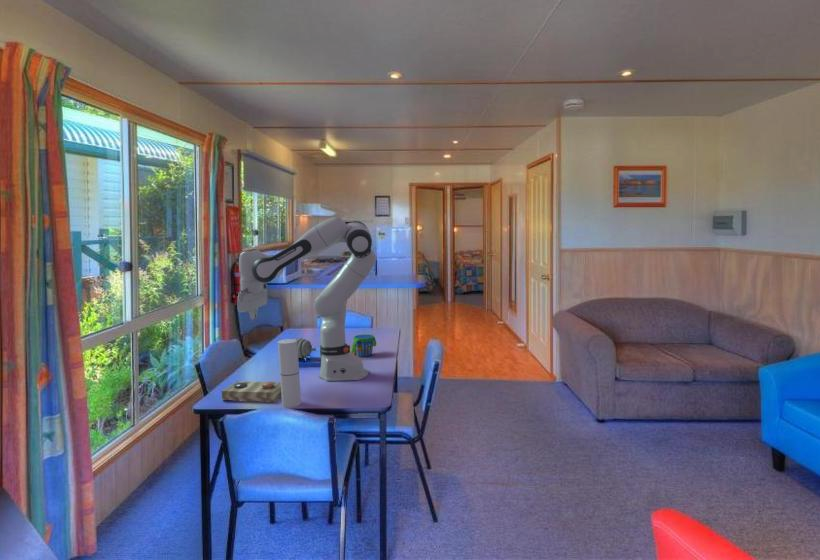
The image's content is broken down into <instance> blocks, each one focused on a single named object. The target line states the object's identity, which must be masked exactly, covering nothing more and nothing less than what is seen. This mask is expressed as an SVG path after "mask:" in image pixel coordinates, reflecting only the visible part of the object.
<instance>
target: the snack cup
mask: <svg viewBox="0 0 820 560" xmlns="http://www.w3.org/2000/svg"><path fill="white" fill-rule="evenodd" d="M376 346H377V340H376V338H375V335H373V334H367V333H365V334H356V335H355V336H353V342H352V347H351V349H352V353H357V354H356V356H357V357H358V358H368V357H370V356H373V348H374V347H376Z"/></svg>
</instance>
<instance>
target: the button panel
mask: <svg viewBox="0 0 820 560" xmlns="http://www.w3.org/2000/svg"><path fill="white" fill-rule="evenodd" d="M264 382H265V381H237V380H236V382H234V383H232V384H230V385H229V386H227V387H226V388H224V389H222V390H221V400H235V401H234V402H247V401H259V402H258V403H275V402H276V401H277V400H279V399H280V398H282V395H281V382H278V381H277V382H275V381H273V382H274V385H273V386H272V388H271V389H264V387H262V383H264ZM237 383H247V386H246V387H244V388H235V387H234V385H235V384H237ZM237 400H238V401H237ZM240 400H241V401H240Z"/></svg>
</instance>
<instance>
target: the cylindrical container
mask: <svg viewBox="0 0 820 560" xmlns="http://www.w3.org/2000/svg"><path fill="white" fill-rule="evenodd" d="M296 339H297V338H286V339H281V340H278V341H277V347H278V349H277V350H278V351H277V352H278V364H279V365H278V366H279V377H280V383H281V395H282V396H281V405H282V407H283V408H295V407H299V406H300V405H301V404H302V397H301V383H300V367H299V366H300V365H299V363H300V362H299V359H298V347H297V340H296Z"/></svg>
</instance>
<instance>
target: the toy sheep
mask: <svg viewBox="0 0 820 560" xmlns="http://www.w3.org/2000/svg"><path fill="white" fill-rule="evenodd" d="M295 339H296V340H297V347H298V358H306V359H307V357H308V356H310V357H311V354H312V352H316V351H317V348H316V347H313V346H312V344H311V341H310V340H307V339H305V338H295Z"/></svg>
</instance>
